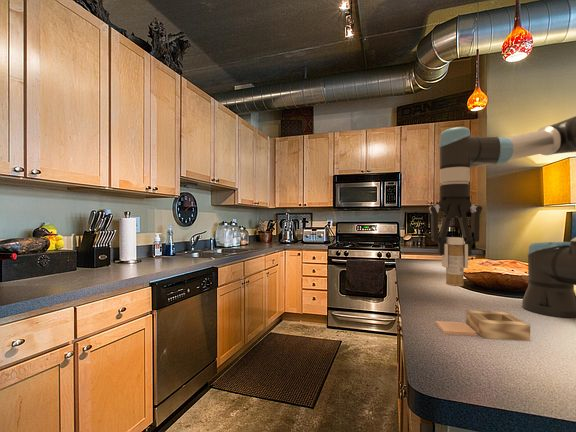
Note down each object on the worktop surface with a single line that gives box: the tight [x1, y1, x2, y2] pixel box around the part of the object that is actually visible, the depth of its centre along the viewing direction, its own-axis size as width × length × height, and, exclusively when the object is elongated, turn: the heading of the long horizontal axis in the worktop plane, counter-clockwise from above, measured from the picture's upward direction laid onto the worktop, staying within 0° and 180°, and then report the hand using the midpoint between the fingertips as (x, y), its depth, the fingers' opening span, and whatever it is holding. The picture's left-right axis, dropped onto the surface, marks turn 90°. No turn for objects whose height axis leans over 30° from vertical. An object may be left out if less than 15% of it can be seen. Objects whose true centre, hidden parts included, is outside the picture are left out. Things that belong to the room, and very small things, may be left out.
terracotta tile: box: [435, 320, 478, 337], centre depth 87 cm, size 8×8×1 cm
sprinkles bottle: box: [445, 236, 465, 287], centre depth 87 cm, size 5×5×14 cm
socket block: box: [465, 309, 531, 342], centre depth 85 cm, size 11×11×4 cm
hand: (454, 266), depth 87 cm, fingers closed on sprinkles bottle, 4 cm apart
